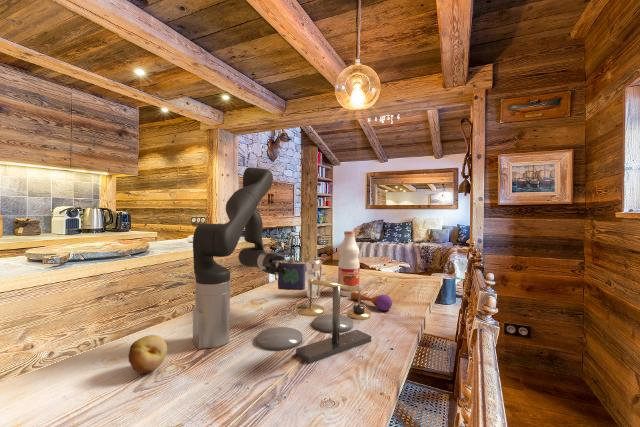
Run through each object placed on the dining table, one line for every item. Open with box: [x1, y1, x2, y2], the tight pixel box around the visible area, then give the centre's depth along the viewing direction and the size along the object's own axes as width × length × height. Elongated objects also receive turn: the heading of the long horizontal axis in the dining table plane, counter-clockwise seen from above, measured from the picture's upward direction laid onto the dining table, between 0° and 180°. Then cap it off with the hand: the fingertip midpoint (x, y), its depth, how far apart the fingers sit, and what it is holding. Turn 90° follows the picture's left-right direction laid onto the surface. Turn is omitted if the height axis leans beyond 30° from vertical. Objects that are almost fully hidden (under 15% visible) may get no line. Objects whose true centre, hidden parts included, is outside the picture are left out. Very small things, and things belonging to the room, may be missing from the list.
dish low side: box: [312, 313, 354, 334], centre depth 101 cm, size 13×13×1 cm
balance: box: [295, 279, 372, 365], centre depth 85 cm, size 24×7×20 cm, turn 127°
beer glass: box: [305, 260, 323, 299], centre depth 133 cm, size 7×7×15 cm
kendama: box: [350, 292, 393, 312], centre depth 123 cm, size 6×6×20 cm
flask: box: [277, 256, 306, 291], centre depth 102 cm, size 9×3×11 cm, turn 87°
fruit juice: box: [337, 230, 361, 298], centre depth 138 cm, size 9×9×28 cm
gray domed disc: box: [256, 326, 303, 351], centre depth 89 cm, size 13×13×1 cm
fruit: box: [127, 334, 168, 374], centre depth 71 cm, size 8×8×8 cm
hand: (295, 270), depth 101 cm, fingers closed on flask, 7 cm apart
